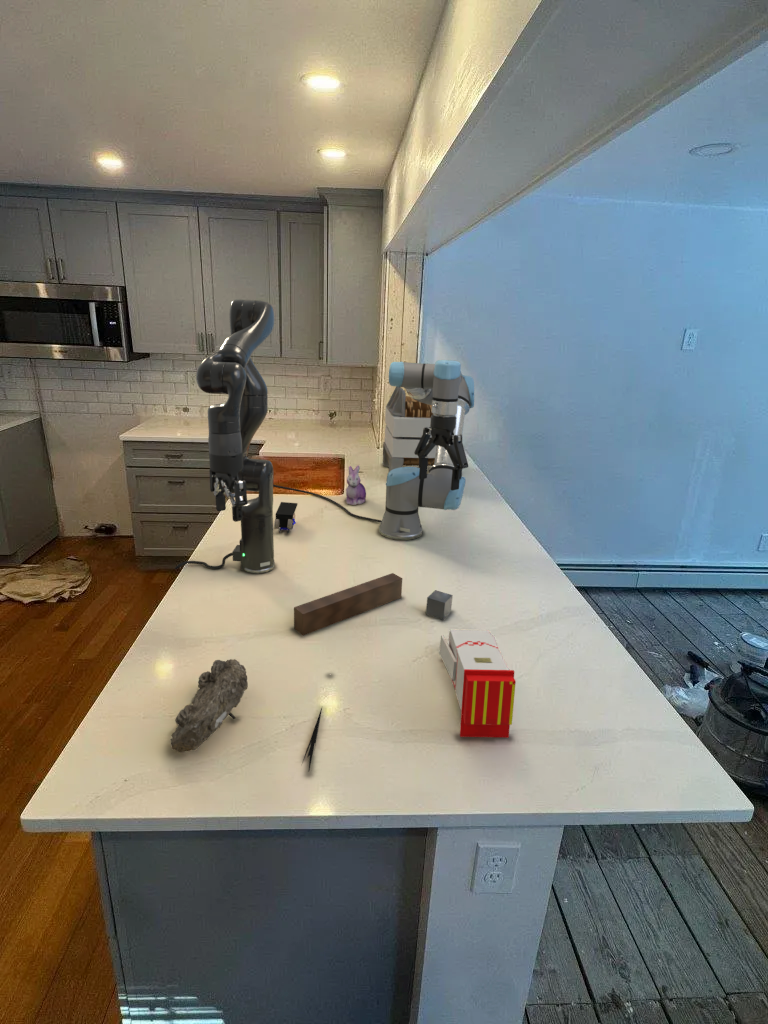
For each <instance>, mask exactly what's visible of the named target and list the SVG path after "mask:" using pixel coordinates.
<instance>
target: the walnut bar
mask: <svg viewBox="0 0 768 1024" xmlns="http://www.w3.org/2000/svg"><path fill="white" fill-rule="evenodd" d="M402 589H403V577H401V576H400V575H398V574H396V573H394V572H392V573H389V574H386V575H382V576H380V577H376V578H374V579H372V580H369V581H365V582H363V583H360V584H357V585H353V586H351V587H348V588H345V589H342V590H340V591H337V592H334V593H331V594H328V595H325V596H322V597H320V598H317V599H313V600H311V601H308V602H305V603H302V604H299V605H296V606H294V607H293V630H295V631H296V632H298V633H299V634H300V635H301V636H304V637H305V636H306V635H309V634H311V633H314V632H316V631H319V630H322V629H324V628H327V627H329V626H332V625H334V624H337V623H340V622H342V621H345V620H347V619H350V618H353V617H355V616H358V615H360V614H362V613H365V612H368V611H371V610H373V609H376V608H378V607H381V606H383V605H386V604H388V603H391V602H394V601H397V600H399V599H402V594H403V593H402V592H403V591H402Z"/></svg>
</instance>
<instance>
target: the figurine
mask: <svg viewBox="0 0 768 1024" xmlns="http://www.w3.org/2000/svg"><path fill="white" fill-rule="evenodd" d="M360 468H361V466H360V465H359V464H358V465H356V466H355V468H353V466H352V465H349V466H348V476H347V478H346V484H347V487H346V490H345V495H346V498H345V502H346V505H352V506H356V505H361V504H364V503H365V502H366V498H367V491H366V488H365V486H364V484H362V483H361V481H362V480H361V478H360V475H359V473H360Z"/></svg>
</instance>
